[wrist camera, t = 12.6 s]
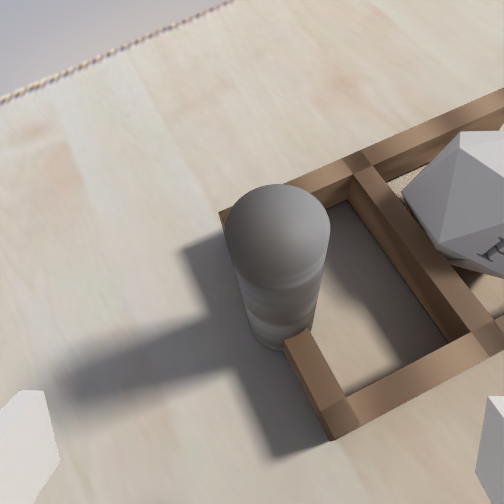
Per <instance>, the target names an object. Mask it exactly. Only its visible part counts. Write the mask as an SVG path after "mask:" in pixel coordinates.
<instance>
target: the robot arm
mask: <svg viewBox="0 0 504 504" xmlns="http://www.w3.org/2000/svg"><path fill="white" fill-rule="evenodd" d="M59 462H60V457H59V453H58V449H57V445H56V441H55V436H54V432H53V428H52V424H51V420H50V416H49V411H48V407H47V403H46V399H45V395H44V391H43V390H20V391H19V392H18V393H17V394H16V395H15V396H14V397H13V398H12V399H11V400H10V401H9V402H8V403H7V404H6V405H5V406H4V407H3V408H2V409H1V410H0V504H33V502H34V501H35V499H36V498H37V496H38V494H39V493H40V491H41V490H42V488H43V487H44V485H45V484H46V482H47V481H48V479H49V478H50V476H51V474H52V473H53V471H54V470H55V468H56V467H57V465H58V464H59ZM475 473H476V475H477V477H478V479H479V481H480V482H481V484H482V486H483V488H484V490H485V492H486V494H487V496H488V497H489V499H490V501H491V503H492V504H504V396H488V398H487V404H486V410H485V416H484V422H483V428H482V434H481V440H480V446H479V452H478V458H477V464H476V470H475Z"/></svg>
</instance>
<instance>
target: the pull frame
mask: <svg viewBox="0 0 504 504" xmlns="http://www.w3.org/2000/svg"><path fill="white" fill-rule="evenodd" d="M503 123H504V88H502V89H499V90H497V91H495V92H493V93H490V94H488V95H486V96H483V97H481V98H479V99H477V100H474V101H472V102H470V103H467V104H465V105H463V106H460V107H458V108H456V109H454V110H451V111H449V112H447V113H444V114H442V115H440V116H438V117H435V118H433V119H431V120H428V121H426V122H424V123H422V124H419V125H417V126H415V127H412V128H410V129H408V130H406V131H403V132H401V133H399V134H396V135H394V136H392V137H390V138H387V139H385V140H383V141H380V142H378V143H376V144H374V145H371V146H369V147H367V148H364V149H362V150H360V151H358V152H355V153H353V154H351V155H348V156H346V157H344V158H342V159H339V160H337V161H335V162H332V163H330V164H328V165H326V166H323V167H321V168H319V169H316V170H314V171H312V172H310V173H307V174H305V175H303V176H300V177H298V178H296V179H294V180H291V181H289V182H287V183H284V184H273V185H266V186H262V187H259V188H256V189H254V190H252V191H250V192H248V193H247V194H245V195H244V196H242V197H241V198H240V199H239V200H238V201H237V202H236V203H235V204H234V206H232V207H230V208H227V209H225V210H223V211H220V212H218V213H219V217H220V220H221V224H222V227H223V231H224V234H225V237H226V241H227V245H228V248H229V252H230V256H231V259H232V263H233V266H234V270H235V273H236V277H237V280H238V284H239V287H240V291H241V294H242V298H243V301H244V305H245V308H246V312H247V315H248V319H249V322H250V326H251V330H252V332H253V334H254V336H255V338H256V339H257V340H258V341H259V342H260V343H261V344H262V345H263V346H265V347H267V348H269V349H271V350H275V351H284V352H285V354H286V356H287V358H288V360H289V362H290V364H291V366H292V368H293V370H294V372H295V374H296V376H297V378H298V380H299V382H300V384H301V386H302V388H303V390H304V392H305V394H306V396H307V398H308V400H309V402H310V404H311V406H312V408H313V409H314V411H315V413H316V415H317V417H318V419H319V421H320V423H321V425H322V427H323V429H324V431H325V433H326V435H327V437H328V439H329V441H334V440H336V439H338V438H340V437H342V436H344V435H346V434H348V433H350V432H351V431H353V430H355V429H357V428H359V427H361V426H363V425H364V424H366V423H368V422H370V421H372V420H374V419H376V418H377V417H379V416H381V415H383V414H385V413H387V412H389V411H390V410H392V409H394V408H396V407H398V406H400V405H402V404H403V403H405V402H407V401H409V400H411V399H413V398H415V397H417V396H418V395H420V394H422V393H424V392H426V391H428V390H430V389H431V388H433V387H435V386H437V385H439V384H441V383H443V382H444V381H446V380H448V379H450V378H452V377H454V376H456V375H457V374H459V373H461V372H463V371H465V370H467V369H469V368H470V367H472V366H474V365H476V364H478V363H480V362H482V361H484V360H485V359H487V358H489V357H491V356H493V355H495V354H497V353H498V352H500V351H502V350H504V315H502V316H501V317H499V318H497V319H495V320H493V318H492V317H491V316H490V315H489V313H488V312H487V311H486V309H485V308H484V307H483V306H482V304H481V303H480V302H479V300H478V299H477V298H476V297H475V295H474V294H473V293H472V292H471V290H470V289H469V288H468V286H467V285H466V284H465V283H464V281H463V280H462V279H461V278H460V276H459V275H458V274H457V272H456V271H455V270H454V269H453V267H452V266H451V265H450V264H449V262H448V261H447V260H446V258H445V257H444V256H443V255H442V253H441V252H440V251H439V250H436V248H435V246H434V245H433V243H432V241H431V240H430V238H429V237H428V236H427V234H426V233H425V232H424V230H423V229H422V228H421V227H420V225H419V224H418V223H417V222H416V220H415V219H414V218H413V216H412V215H411V214H410V213H409V211H408V210H407V209H406V208H405V206H404V205H403V204H402V202H401V201H400V200H399V199H398V197H397V196H396V195H395V194H394V192H393V191H392V190H391V188H390V187H389V186H388V185H387V183H386V181H389V180H391V179H393V178H395V177H397V176H400V175H402V174H404V173H406V172H408V171H411V170H413V169H415V168H417V167H419V166H422V165H424V164H426V163H428V162H431V161H432V160H433V159H434V158H435V157H436V156H437V155H438V154H439V153H440V152H441V151H442V150H443V149H444V148H445V147H446V146H447V145H448V144H449V143H450V142H451V141H452V140H453V139H454V138H455V137H456V136H457V135H458V134H459V133H460V132H465V131H499V129H500V128H501V126H502V125H503ZM344 200H348V201H349V203H350V204H351V205H352V207H353V208H354V210H355V211H356V212H357V214H358V215H359V217H360V218H361V219H362V221H363V222H364V224H365V225H366V226H367V228H368V229H369V231H370V232H371V233H372V235H373V236H374V238H375V239H376V241H377V242H378V243H379V245H380V246H381V248H382V249H383V250H384V252H385V253H386V255H387V256H388V257H389V259H390V260H391V262H392V263H393V264H394V266H395V267H396V269H397V270H398V271H399V273H400V274H401V276H402V277H403V278H404V280H405V281H406V283H407V284H408V286H409V287H410V288H411V290H412V291H413V293H414V294H415V295H416V297H417V298H418V300H419V301H420V302H421V304H422V305H423V307H424V308H425V309H426V311H427V312H428V314H429V315H430V316H431V318H432V319H433V321H434V322H435V324H436V325H437V326H438V328H439V329H440V331H441V332H442V333H443V335H444V336H445V338H446V339H447V340H448V342H449V344H447V345H445V346H443V347H441V348H440V349H438V350H436V351H434V352H432V353H430V354H428V355H426V356H424V357H422V358H420V359H419V360H417V361H415V362H413V363H411V364H409V365H407V366H405V367H403V368H401V369H399V370H398V371H396V372H394V373H392V374H390V375H388V376H386V377H384V378H382V379H380V380H378V381H377V382H375V383H373V384H371V385H369V386H367V387H365V388H363V389H361V390H359V391H357V392H356V393H354V394H352V395H350V396H348V397H346V396H345V395H344V393H343V391H342V389H341V387H340V386H339V384H338V382H337V380H336V378H335V376H334V375H333V373H332V371H331V369H330V367H329V366H328V364H327V362H326V360H325V358H324V357H323V355H322V353H321V351H320V349H319V347H318V346H317V344H316V342H315V340H314V338H313V337H312V335H311V333H310V331H311V328H312V324H313V318H314V313H315V308H316V303H317V298H318V293H319V288H320V283H321V278H322V273H323V268H324V263H325V258H326V253H327V248H328V242H329V237H330V221H329V217H328V215H327V212H326V210H325V209H327V208H329V207H331V206H333V205H336V204H338V203H340V202H342V201H344Z"/></svg>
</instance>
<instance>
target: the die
mask: <svg viewBox="0 0 504 504" xmlns="http://www.w3.org/2000/svg"><path fill="white" fill-rule="evenodd" d="M401 193H402V195H403V197H404V199H405V201H406V204H407V206H408V208H409V210H410V212H411V214H412V216H413V218H414V219H415V220H416V222H417V223H418V224H419V225H420V227H421V228H422V229H423V230H424V232H425V233H426V234H427V236H428V237H429V238H430V240H431V241H432V243H433V245H434V246H435V248H436V250H439V251H440V252H441V253H442V255H443V256H444V257H445V258H446V260H447V261H448V262H449V264H450V265H452V266H456V267H458V266H459V267H461V268H464V269H468V270H472V271H476V272H480V273H484V274H487V275H491V276H495V277H499V278H503V279H504V131H465V132H460V133H459V134H458V135H457V136H456V137H455V138H454V139H453V140H452V141H451V142H450V143H449V144H448V145H447V146H446V147H445V148H444V149H443V150H442V151H441V152H440V153H439V154H438V155H437V156H436V157H435V158H434V159H433V160H432V161H431V162H430V163H429V164H428V165H427V166H426V167H425V168H424V169H423V170H422V171H421V172H420V173H419V174H418V175H417V176H416V177H415V178H414V179H413V180H412V181H411V182H410V183H409V184H408V185H407V186H406V187H405V188H404V189H403V190H402V191H401Z"/></svg>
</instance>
